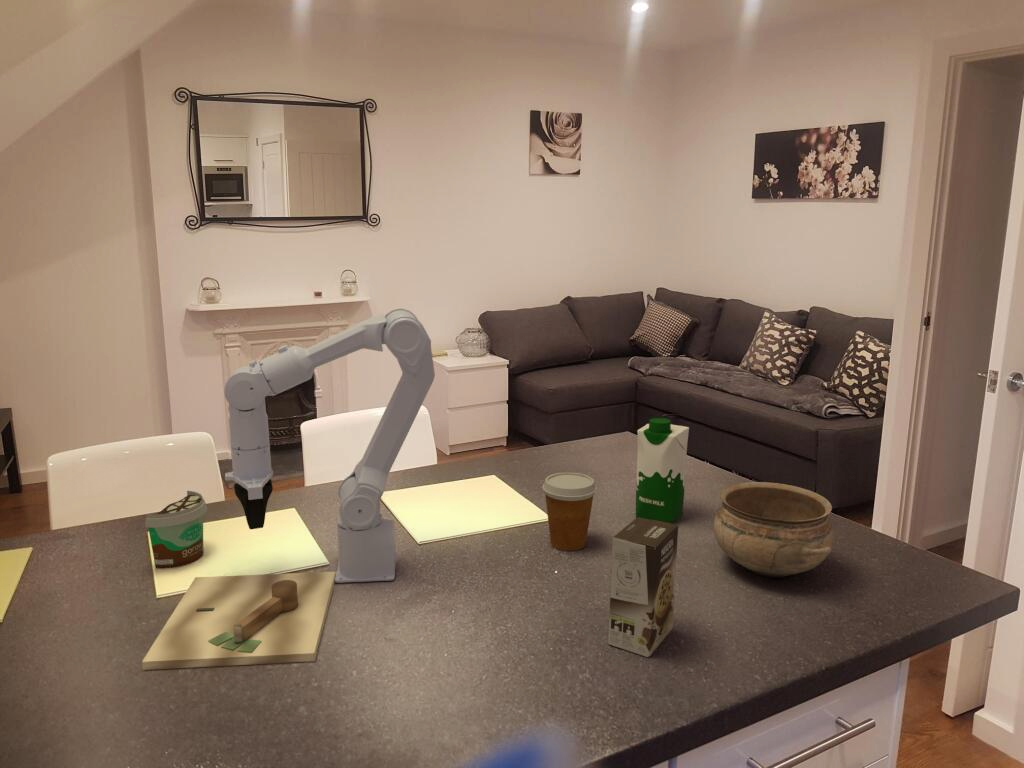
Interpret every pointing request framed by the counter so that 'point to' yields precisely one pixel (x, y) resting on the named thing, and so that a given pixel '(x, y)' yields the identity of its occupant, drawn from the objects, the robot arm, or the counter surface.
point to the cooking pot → (774, 527)
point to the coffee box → (642, 585)
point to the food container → (178, 532)
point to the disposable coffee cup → (568, 509)
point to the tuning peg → (268, 609)
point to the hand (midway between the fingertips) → (256, 527)
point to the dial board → (227, 600)
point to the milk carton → (661, 470)
